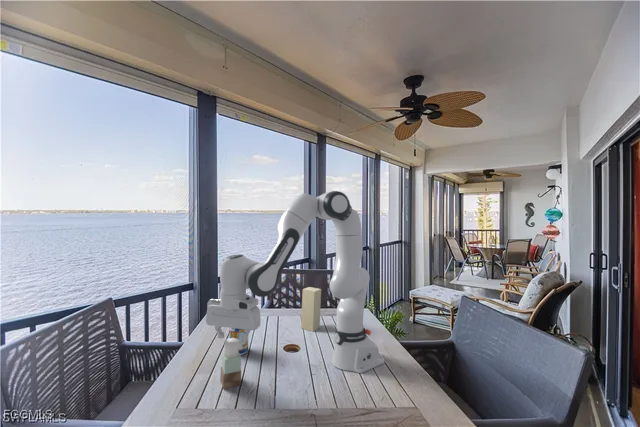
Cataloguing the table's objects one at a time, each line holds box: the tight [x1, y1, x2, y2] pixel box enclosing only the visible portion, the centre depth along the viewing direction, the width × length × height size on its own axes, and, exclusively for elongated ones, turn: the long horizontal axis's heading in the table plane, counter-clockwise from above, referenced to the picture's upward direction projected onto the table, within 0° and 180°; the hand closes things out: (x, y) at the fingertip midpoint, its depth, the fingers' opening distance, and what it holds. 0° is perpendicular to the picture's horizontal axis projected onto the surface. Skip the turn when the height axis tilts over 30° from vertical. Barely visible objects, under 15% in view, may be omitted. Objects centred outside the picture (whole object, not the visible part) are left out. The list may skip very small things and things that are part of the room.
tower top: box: [221, 352, 242, 374], centre depth 108 cm, size 6×6×5 cm
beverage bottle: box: [228, 328, 249, 356], centre depth 132 cm, size 8×8×20 cm
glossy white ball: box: [223, 337, 239, 358], centre depth 108 cm, size 5×5×5 cm
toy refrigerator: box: [300, 286, 322, 332], centre depth 161 cm, size 8×7×21 cm
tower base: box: [219, 366, 242, 390], centre depth 108 cm, size 6×6×5 cm
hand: (232, 339), depth 107 cm, fingers open, 8 cm apart
